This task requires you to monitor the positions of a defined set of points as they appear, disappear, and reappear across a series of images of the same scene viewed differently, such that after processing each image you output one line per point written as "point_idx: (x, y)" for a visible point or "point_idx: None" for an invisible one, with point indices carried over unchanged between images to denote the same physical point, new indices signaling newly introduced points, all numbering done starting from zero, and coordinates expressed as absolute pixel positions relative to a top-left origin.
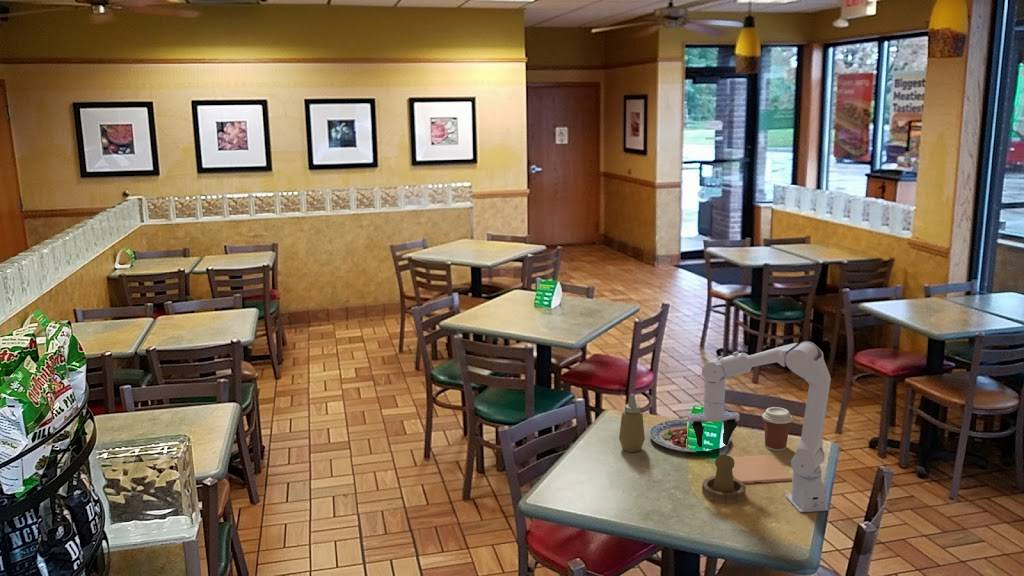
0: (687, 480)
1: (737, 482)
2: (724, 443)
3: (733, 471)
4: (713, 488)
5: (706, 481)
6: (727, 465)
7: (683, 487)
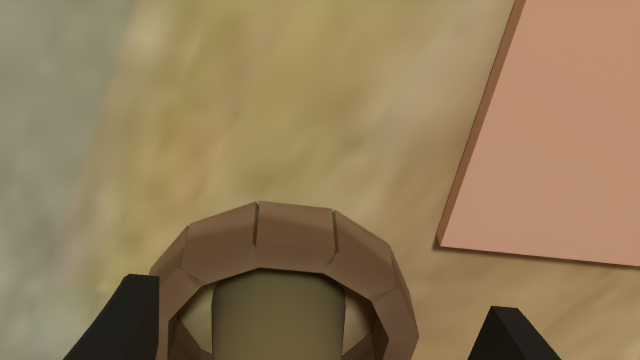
0: (100, 102)
1: (388, 334)
2: (479, 345)
3: (518, 110)
4: (213, 320)
5: (182, 291)
6: None
7: (40, 189)
